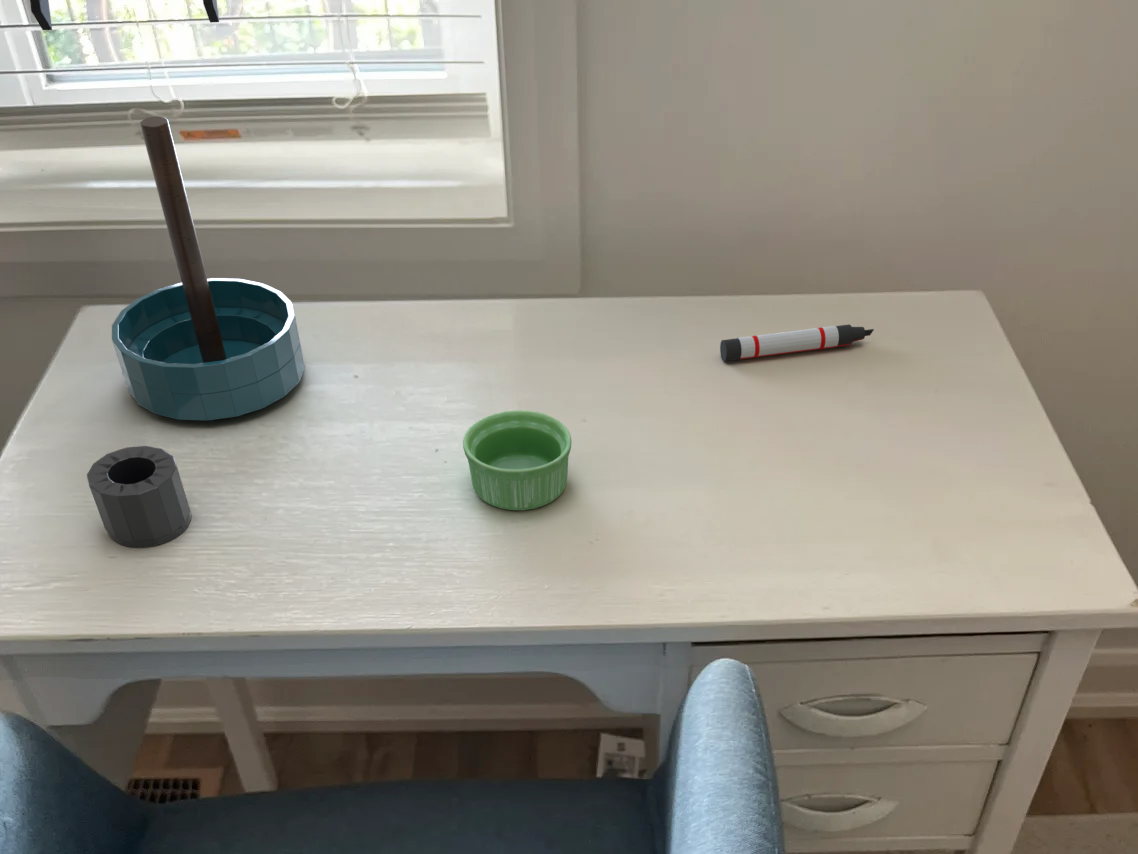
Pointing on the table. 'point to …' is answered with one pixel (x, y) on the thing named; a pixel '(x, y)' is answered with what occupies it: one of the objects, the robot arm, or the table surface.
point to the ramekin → (518, 459)
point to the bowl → (174, 364)
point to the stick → (183, 236)
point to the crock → (139, 496)
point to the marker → (791, 342)
